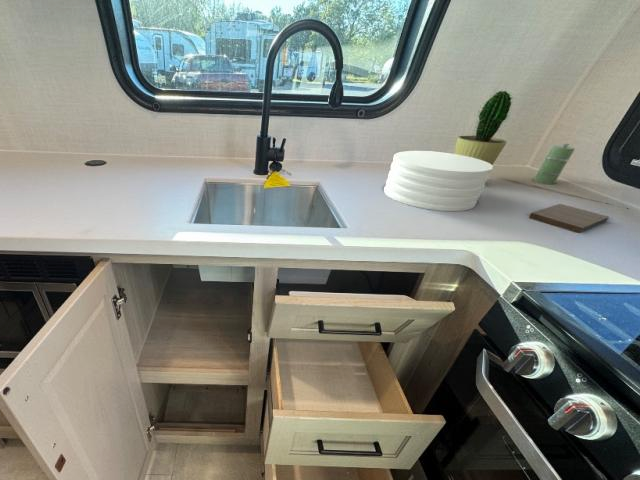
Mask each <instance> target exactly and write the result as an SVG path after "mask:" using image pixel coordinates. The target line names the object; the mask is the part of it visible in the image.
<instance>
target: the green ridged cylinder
mask: <svg viewBox="0 0 640 480" xmlns="http://www.w3.org/2000/svg"><path fill="white" fill-rule="evenodd" d="M575 150H576V148H575V147H572V146H570V143H567V142H562V143H561V145H552V147H551V148H550V150H549V152H548V154H547V155H546V156H545V159H544V161H543V163H542V165H541V166H540V168H539V169H538V171H537V173H536V175H535V177H534V179H533V181H534V182H536V183H540V184H544V185H554V184H555V183H556V181H557V180H558V179H559V177H560V175H562V172H563V170H564V168H565V167H566V165H567V163H568V162H569V161H570V158H571V157H572V156H573V154H574V152H575Z"/></svg>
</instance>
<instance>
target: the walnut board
mask: <svg viewBox="0 0 640 480" xmlns="http://www.w3.org/2000/svg"><path fill="white" fill-rule="evenodd" d="M528 218H529V219H530V220H531V219H532V220H534V221H538V222H542V223H545V224H548V225H552V226H555V227H558V228H561V229H564V230H568V231H571V232H574V233H577V234H581V233H582V232H585V231H588V230H589V229H592V228H594V227H596V226H599V225H601V224H604V223H606V222H607V221H608V220H609V219H610V216H609V215H605V214H600V213H596V212H593V211H590V210H585V209H582V208H577V207H574V206H570V205H567V204H563V203H557V204H554V205H552V206H549V207H545V208H543V209H539V210H536V211H533V212H531V213H530V215H529V216H528Z"/></svg>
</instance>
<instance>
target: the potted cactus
mask: <svg viewBox="0 0 640 480" xmlns="http://www.w3.org/2000/svg"><path fill="white" fill-rule="evenodd" d="M513 99H514V98H513V94H511V93H508V91H506V90H495V92H494V93H493V94H492V96H491V95H489V99H488V100H486V102H485V103H484V102H482V104H484V105H483V107H481V110H479V112H478V113H477V117H478V121H476V124H477V126H476V127H475V130H474V133H475V134H474V135H473V134H472V135H468V134H467V135H458V136H457V140H456V143H455V147H454V151H453V152H454V153H453V154H457V155H463V156H468V157H472V158H476V159H479V160H483V161H485V162H488V163H490V164H491V165H492V166H493V165H494V163H495V162H496V161H497V159H498V157H499V156H500V155H501V152H502V151H503V149H505V146H506V144H508V141H507V140H505V139H501V138H497V137H495V135H496V133H497V132H500V129H501V126H503V123H504V124H505V121H507V120H508V121H509V119H511V118H512V117H511V116H510V111H512V109H513V107H512V105H513V102H514V101H513Z"/></svg>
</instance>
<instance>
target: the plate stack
mask: <svg viewBox="0 0 640 480" xmlns="http://www.w3.org/2000/svg"><path fill="white" fill-rule="evenodd" d="M493 169H494V166H493V165H491V164H490V163H488V162H485V161H483V160H479V159H476V158H472V157H468V156H463V155H457V154H454V153H451V152H443V151H431V150H405V151H398V152H396V153H394V154H393V158H392V162H391V165H390V170H389V171H388V177H387V178H386V182H385V183H386V184H385V186H384V188H383V192H384V194H385V195H386V196H387V197H388V198H390V199H392V200H394V201H396V202H399V203H401V204H405V205H408V206H412V207H415V208H420V209H425V210H431V211H441V212H442V211H443V212H463V211H468V210H471V209H473V208H475V207H476V204H477V203H478V199H479V198H480V197H481V194H482V192H483V190H484V188H485V186H486V182H488V180H489V177H490V174H491V173H492V171H493Z"/></svg>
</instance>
